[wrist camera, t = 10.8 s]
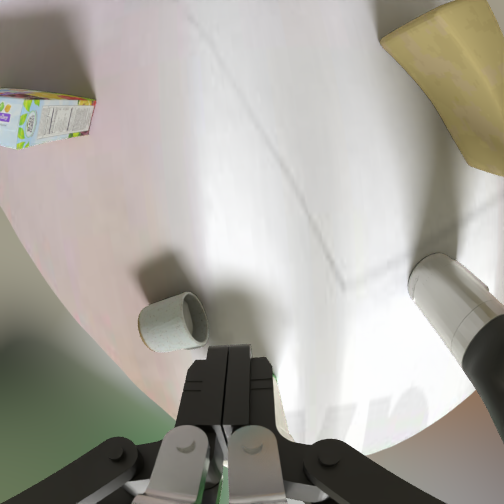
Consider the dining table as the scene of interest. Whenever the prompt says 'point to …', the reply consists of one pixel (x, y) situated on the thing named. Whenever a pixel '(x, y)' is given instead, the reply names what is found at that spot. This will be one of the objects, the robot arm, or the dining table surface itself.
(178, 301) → the ceramic mug
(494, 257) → the dining table surface
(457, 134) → the cheese
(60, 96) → the snack box
